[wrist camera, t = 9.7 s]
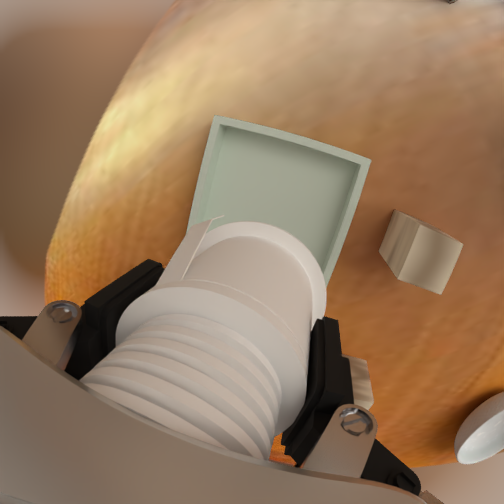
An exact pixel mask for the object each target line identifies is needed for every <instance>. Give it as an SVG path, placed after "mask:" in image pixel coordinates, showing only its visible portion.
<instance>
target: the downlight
mask: <svg viewBox="0 0 504 504" xmlns="http://www.w3.org/2000/svg"><path fill="white" fill-rule="evenodd" d="M223 216H224V215H222V216H219V217H216V218H213V219H210V220H207V221H204V222H201V223H198V224H195V225H192V226H191V228H190V229H189V231H188V233H187V234H186V236H185V237H184V239H183V241H182V242H181V244H180V245H179V247H178V249H177V250H176V252H175V254H174V255H173V257H172V258H171V260H170V262H169V263H168V265H167V267H166V268H165V270H164V272H163V273H162V275H161V277H160V279H159V280H158V282H157V284H156V285H155V286H154V287H153V288H151V289H150V290H149V291H147V292H146V293H144V294H143V295H141V296H140V297H139V298H137V299H136V300H135V301H133V302H132V303H131V304H130V305H129V306H128V307H127V308H126V310H125V311H124V313H123V314H122V316H121V318H120V320H119V322H118V325H117V329H116V348H115V349H114V350H113V351H111V352H110V353H109V354H108V355H107V356H106V357H105V358H104V359H103V360H101V361H100V362H99V363H98V364H97V365H96V366H95V367H94V368H93V369H92V370H91V371H90V372H88V373H87V374H86V375H85V376H84V377H83V378H82V379H80V380H79V381H80V382H82V383H83V384H85V385H86V386H88V387H90V388H91V389H93V390H95V391H97V392H98V393H100V394H102V395H104V396H105V397H107V398H109V399H111V400H113V401H114V402H116V403H118V404H120V405H122V406H124V407H126V408H127V409H129V410H131V411H133V412H135V413H137V414H139V415H141V416H143V417H145V418H147V419H150V420H152V421H154V422H156V423H158V424H160V425H163V426H165V427H167V428H170V429H172V430H175V431H178V432H180V433H183V434H185V435H188V436H190V437H193V438H195V439H198V440H201V441H204V442H206V443H209V444H212V445H215V446H218V447H221V448H224V449H227V450H230V451H233V452H237V453H240V454H243V455H247V456H251V457H254V458H258V459H262V460H266V461H269V457H270V451H271V447H272V444H273V440H274V437H275V436H277V435H279V434H280V433H282V432H283V431H285V430H286V429H287V428H288V427H290V426H291V425H292V424H293V422H294V421H295V419H296V417H297V416H298V414H299V412H300V410H301V409H302V407H303V405H304V403H305V398H306V390H307V378H308V367H309V355H310V341H311V331H312V329H313V326H314V324H315V322H316V320H317V318H318V319H321V320H322V318H323V316H324V313H325V308H326V285H325V280H324V276H323V273H322V271H321V268H320V266H319V264H318V262H317V261H316V259H315V257H314V256H313V254H312V253H311V252H310V250H309V249H308V248H307V247H306V246H305V245H304V244H303V243H302V242H301V241H300V240H298V239H297V238H296V237H294V236H293V235H292V234H290V233H288V232H287V231H285V230H283V229H281V228H279V227H276V226H273V225H270V224H267V223H262V222H256V221H238V222H232V223H228V224H224V225H222V226H219V227H217V228H215V229H213V230H211V231H209V232H208V233H206V232H207V230H208V228H209V226H210V224H211V222H212V220H214V219H217V218H220V217H223Z"/></svg>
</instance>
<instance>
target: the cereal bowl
mask: <svg viewBox="0 0 504 504" xmlns="http://www.w3.org/2000/svg"><path fill="white" fill-rule="evenodd" d="M454 449H455V455H456V458H457V460H458V462H460V463H462V464H473V463H476V462H480V461H483V460H485V459H487V458H489V457H491V456H493V455H495V454H496V453H498V452H499V451H501V450H502V449H504V392H501V393H499V394H497V395H494V396H493V397H491V398H489V399H488V400H486V401H485V402H483V403H482V404H481V405H479V406H478V407H477V408H476V409H475V410H474V411H473V412H472V413H471V414H470V415H469V416H468V417H467V418H466V419H465V421H464V422H463V423H462V425H461V426H460V428H459V430H458V432H457V435H456V438H455V444H454Z"/></svg>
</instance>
